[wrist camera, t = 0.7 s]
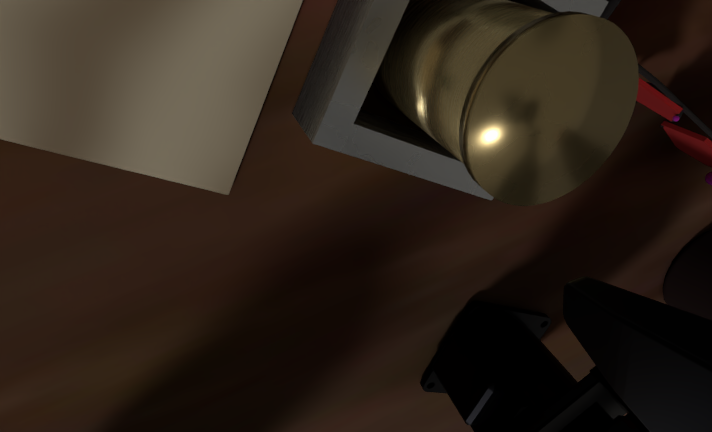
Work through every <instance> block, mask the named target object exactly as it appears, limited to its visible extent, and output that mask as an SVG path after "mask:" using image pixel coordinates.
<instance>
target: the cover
mask: <svg viewBox="0 0 712 432" xmlns="http://www.w3.org/2000/svg"><path fill="white" fill-rule="evenodd" d="M373 82H374V85H375V86H376V88H377V90H378V91H379V92H380V94H381V95H382V96H383V97H384V98H385V99H386V100H387V101H388V102H390V103H391V104H392V105H393V106H394V107H396V108H397V109H398V110H399V111H400V112H402V113H403V114H404V115H405V116H407V117H408V118H409V119H410V120H411V121H413V122H414V123H415V124H416V125H417V126H419V127H420V128H421V129H422V130H423V131H425V132H426V133H427V134H428V135H429V136H431V137H432V138H433V139H434V140H436V141H437V142H438V143H439V144H440V145H442V146H443V147H444V148H445V149H446V150H448V151H449V152H450V153H451V154H452V155H454V156H455V157H456V158H457V159H458V160H460V161H461V162H462V163H463V164H464V165H465V167H466V169H467V171H468V173H469V175H470V176H471V177H472V179H473V180H474V181H475V182H476V183H477V184H478V185H479V186H480V187H481V188H483V189H484V190H485V191H486V192H487V193H488V194H490V195H491V196H493V197H494V198H496V199H497V200H499V201H502V202H504V203H507V204H512V205H520V206H528V205H537V204H542V203H545V202H548V201H551V200H554V199H556V198H559V197H561V196H563V195H565V194H567V193H568V192H570V191H572V190H574V189H575V188H576V187H578V186H579V185H581V184H582V183H583V182H585V181H586V180H587V179H588V178H589V177H590V176H592V175H593V174H594V173H595V172H596V171H597V170H598V169H599V168H600V167H601V166H602V164H603V163H604V162H605V161H606V160H607V158H608V157H609V156H610V155H611V153H612V152H613V150H614V149H615V148H616V146H617V144H618V143H619V141H620V139H621V138H622V136H623V134H624V132H625V130H626V128H627V126H628V124H629V121H630V118H631V116H632V113H633V110H634V106H635V103H636V98H637V93H638V83H639V71H638V63H637V57H636V54H635V51H634V48H633V46H632V44H631V42H630V40H629V38H628V37H627V36H626V34H625V33H624V32H623V31H622V30H621V29H620V28H619V27H618V26H616V25H615V24H614V23H612V22H610V21H608V20H606V19H604V18H601V17H597V16H594V15H590V14H586V13H582V12H574V11H565V12H557V13H551V12H547V11H544V10H540V9H537V8H533V7H530V6H526V5H523V4H519V3H516V2H512V1H508V0H409V3H408V5H407V7H406V9H405V11H404V14H403V16H402V18H401V20H400V22H399V25H398V27H397V29H396V31H395V33H394V36H393V38H392V40H391V42H390V44H389V47H388V49H387V51H386V53H385V55H384V58H383V60H382V62H381V64H380V66H379V69H378V71H377V73H376V75H375V77H374V80H373Z"/></svg>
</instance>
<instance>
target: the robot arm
mask: <svg viewBox="0 0 712 432" xmlns="http://www.w3.org/2000/svg"><path fill="white" fill-rule="evenodd" d="M563 315H564V319H565V321H566V323H567V325H568V327H569V328H570V329H571V331H572V332H573V334H574V335H575V336H576V338H577V339H578V341H579V342H580V343H581V345H582V346H583V348H584V349H585V350H586V352H587V353H588V355H589V356H590V358H591V359H592V360H593V362H594V363H595V365H596V366H595V367H593V368H592V369H591V370H590V373H589V374H588V375H587V376H586V377H584V378H583V379H582V380H581V381H579V382H577V381H576V380H575V379H574V378H573V376H572V375H571V374H570V373H569V372H568V371H567V370H566V369H565V368H564V366H563V365H562V364H561V363H560V362H559V361H558V360H557V359H556V358H555V356H554V355H553V354H552V353H551V352H550V351H549V350H548V349H547V348H546V346H545V345H544V344H543V343H542V342H541V341H540V339H541V337H542V336H543V334H544V333H545V331H546V330H547V329H548V327H549V326H550V324H551V319H550V318H549V317H548V316H547V315H546V314H544V313H539V312H534V311H528V310H523V309H518V308H512V307H507V306H502V305H496V304H491V303H486V302H480V301H473V302H471V303H470V304H468V306H467V307H466V308H465V310H464V312H463V313H462V315H461V317H460V318H459V320H458V321H457V323H456V325H455V326H454V328H453V329H452V331H451V333H450V334H449V336H448V338H447V339H446V341H445V342H444V344H443V346H442V347H441V349H440V350H439V352H438V354H437V355H436V357H435V358H434V360H433V362H432V363H431V365H430V367H429V368H428V370H427V371H426V373H425V375H424V376H423V378H422V379H421V382H420V385H421V386H422V388H423V390H424V391H426V392H438V393H447V394H448V395H449V397H450V399H451V400H452V402H453V404H454V405H455V407H456V408H457V410H458V412H459V413H460V415H461V417H462V418H463V420H464V421H465V423H466V424H467V425H470V426H471V428H472V429H473V431H474V432H712V320H709V319H707V318H704V317H701V316H698V315H695V314H692V313H690V312H687V311H684V310H681V309H678V308H675V307H673V306H670V305H667V304H664V303H661V302H658V301H656V300H653V299H650V298H647V297H644V296H641V295H639V294H636V293H633V292H630V291H627V290H624V289H622V288H619V287H616V286H613V285H610V284H607V283H604V282H602V281H599V280H596V279H593V278H590V277H585V276H584V277H580V278H577V279H575V280H572V281H570V282H568V283H566V285H565V286H564V299H563ZM626 413H627V415H625V416H623V415H624V414H626Z"/></svg>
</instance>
